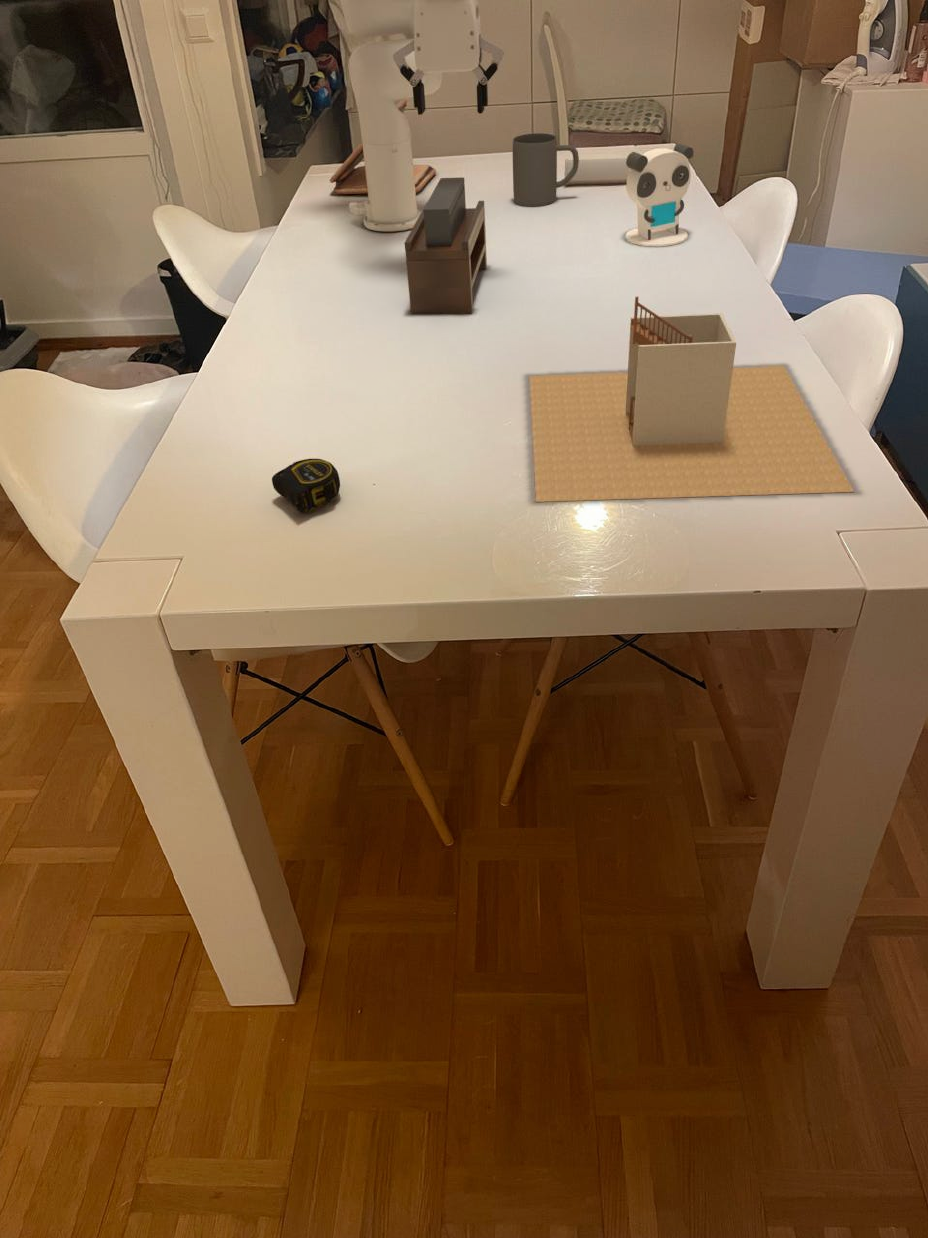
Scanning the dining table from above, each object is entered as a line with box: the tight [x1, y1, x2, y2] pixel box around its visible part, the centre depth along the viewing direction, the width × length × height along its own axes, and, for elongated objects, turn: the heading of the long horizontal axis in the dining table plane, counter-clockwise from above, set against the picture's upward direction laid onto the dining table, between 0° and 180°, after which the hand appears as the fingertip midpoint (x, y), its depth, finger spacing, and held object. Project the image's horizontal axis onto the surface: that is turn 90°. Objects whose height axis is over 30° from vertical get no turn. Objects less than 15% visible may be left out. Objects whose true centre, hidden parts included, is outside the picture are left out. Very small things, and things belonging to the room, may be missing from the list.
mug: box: [512, 132, 580, 207], centre depth 191 cm, size 14×9×12 cm
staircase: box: [624, 296, 737, 446], centre depth 110 cm, size 9×11×17 cm
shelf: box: [403, 200, 488, 315], centre depth 154 cm, size 10×22×11 cm, turn 173°
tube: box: [564, 157, 631, 187], centre depth 201 cm, size 5×5×25 cm
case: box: [329, 98, 437, 195], centre depth 207 cm, size 20×21×16 cm
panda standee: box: [625, 143, 694, 248], centre depth 168 cm, size 12×11×15 cm
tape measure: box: [271, 458, 341, 514], centre depth 106 cm, size 7×7×4 cm
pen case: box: [422, 176, 467, 246], centre depth 149 cm, size 4×18×6 cm, turn 173°
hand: (451, 111), depth 147 cm, fingers open, 9 cm apart
